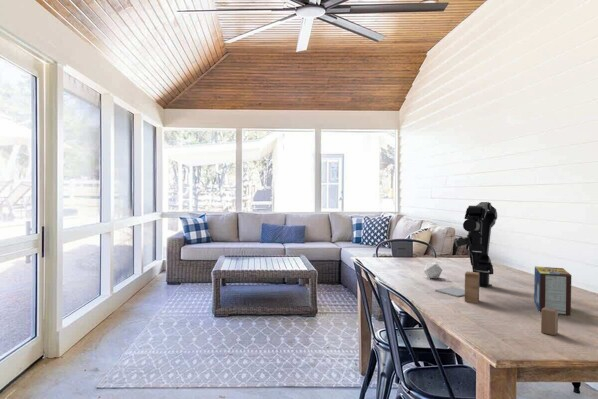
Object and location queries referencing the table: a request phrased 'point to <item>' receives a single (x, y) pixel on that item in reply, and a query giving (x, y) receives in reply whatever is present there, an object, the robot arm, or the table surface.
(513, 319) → the table surface
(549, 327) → the wooden block
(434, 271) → the die
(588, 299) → the table surface
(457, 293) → the coaster
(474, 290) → the walnut block
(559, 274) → the protein box
